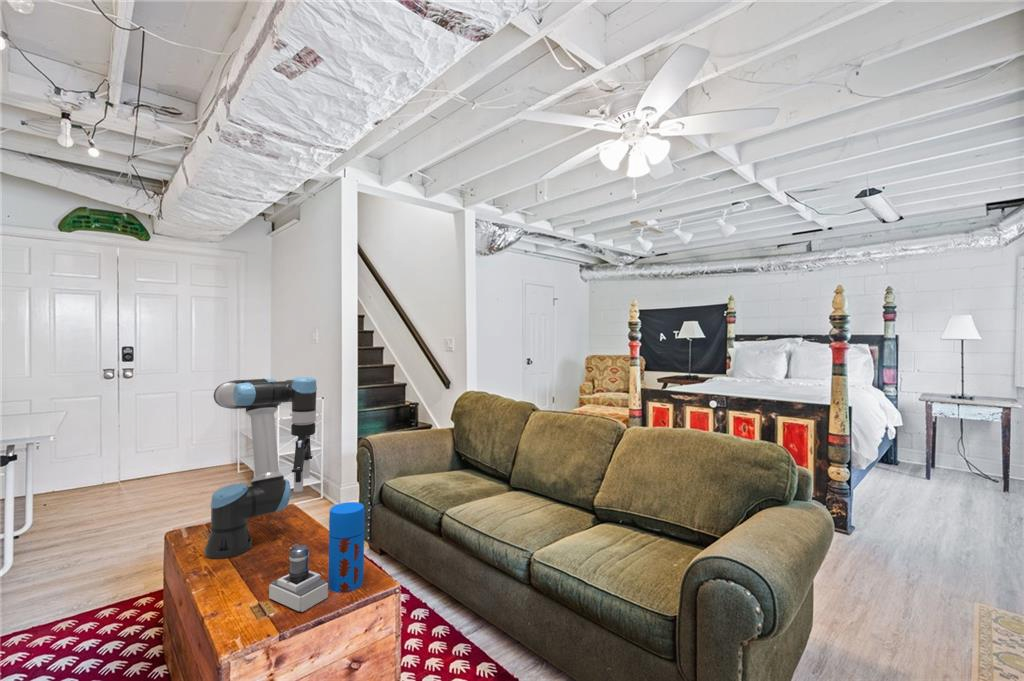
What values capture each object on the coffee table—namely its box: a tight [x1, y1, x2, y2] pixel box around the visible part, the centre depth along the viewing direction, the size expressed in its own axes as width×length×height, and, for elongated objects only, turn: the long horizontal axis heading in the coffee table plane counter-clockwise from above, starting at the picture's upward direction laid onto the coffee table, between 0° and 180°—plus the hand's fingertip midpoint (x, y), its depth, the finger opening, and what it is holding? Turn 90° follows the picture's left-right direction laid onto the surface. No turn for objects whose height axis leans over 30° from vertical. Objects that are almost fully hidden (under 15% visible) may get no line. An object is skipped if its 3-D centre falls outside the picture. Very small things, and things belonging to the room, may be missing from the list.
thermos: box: [327, 501, 366, 594], centre depth 151 cm, size 11×11×25 cm
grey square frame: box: [268, 570, 329, 613], centre depth 142 cm, size 15×10×7 cm, turn 61°
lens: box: [288, 545, 310, 585], centre depth 142 cm, size 6×6×10 cm
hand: (301, 484), depth 158 cm, fingers open, 13 cm apart
